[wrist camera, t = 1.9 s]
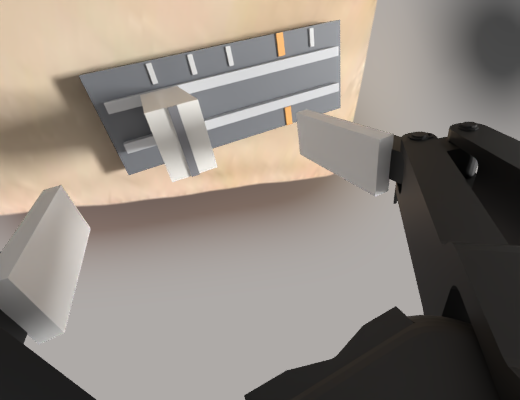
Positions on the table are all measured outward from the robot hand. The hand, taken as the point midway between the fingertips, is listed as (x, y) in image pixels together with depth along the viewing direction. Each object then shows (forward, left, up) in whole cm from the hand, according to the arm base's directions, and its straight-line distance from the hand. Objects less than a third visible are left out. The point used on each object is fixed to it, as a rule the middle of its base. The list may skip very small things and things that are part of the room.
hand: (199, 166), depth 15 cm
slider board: (0, +8, -18) cm, 20 cm away
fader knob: (0, 0, -15) cm, 15 cm away
